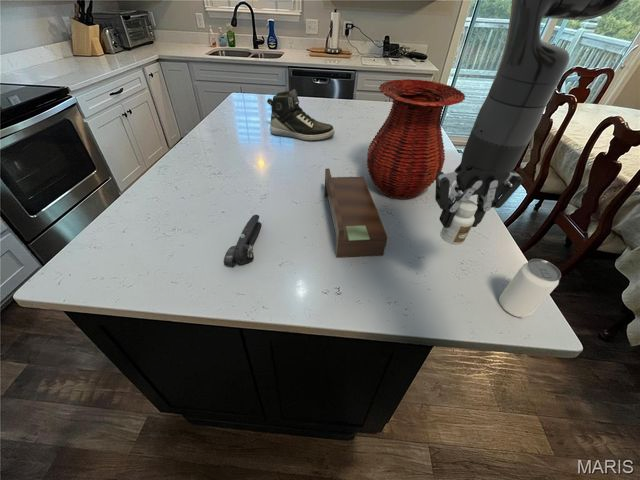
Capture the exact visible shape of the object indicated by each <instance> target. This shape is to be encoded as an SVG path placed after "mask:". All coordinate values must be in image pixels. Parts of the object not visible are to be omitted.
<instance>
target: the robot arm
mask: <svg viewBox="0 0 640 480" xmlns="http://www.w3.org/2000/svg"><path fill="white" fill-rule="evenodd" d="M624 1H625V0H511V6H510V12H509V13H510V15H509V20H508V21H509V22H508V28H507V34H506V39H505V44H504V48H503V52H502V56H501V58H500V59H501V60H500V63H499V65H498V69H497V71H496V74H495V75H494V79H493V81H492V84H491V86H490V89H489V91H488V93H487V96H486V98H485V99H484V101H483V103H482V104H481V107H480V109H479V111H478V113H477V116H476V119H475V121H474V123H473V125H472V129H471V131H470V134H469V136H468V138H467V141H466V143H465V146H464V149H463V151H462V154H461V161H460V163H459V165H458V166H457V167H456V168H455V169H454V171H452V172H448V173H444V171H441V172H438V173H437V174H436V180H435V196H434V197H435V198H434V201H435V202H436V203H437V205H438V207H439V208H440V210H441V213H440V215H439V217H438V218H439V222H440V223H441V225H442V227H443V226H444V228H449V227H450V225H451V223H452V221H453V218H454V216H455V214H456V212H455V211H456V210H457V209H458V208H459V206H460V205H461V204H462V203H465V202H466V201H467V200H470V198H471V197H473V196H476V197H477V198H476V205H477V210H476V212H475V214H474V217H475V221H474V223H473V225H472V227H471V228H477V226H478V225H479V224H481V223H482V221H483V218H484V217H485V215H486V213H487V212H489V211H490V210H491V209H493V208H495V209H500V208H501V207H503V205H505V203H507V201H508V200H509V199H510V198H511V197H512V195H514V193H515V192H516V191H517V190H518V189H519V188H520V187H521V185H522V184H523V183H524V181H525V179H524V178H523V177H522V176H521V175H520V174H519V173H517V172H516V171H515V170H514V169H515V168H516V166H517V164H518V162H520V159H521V158H522V156H523V154H524V152H525V150H526V149H527V147H528V144H529V143H530V141H531V139H532V138H533V136H534V134H535V132H536V130H537V128H538V126H539V124H540V123H541V120H542V117H543V114H544V111H545V109H546V108H547V105H548V103H549V102H550V100H551V98H552V97H553V95H554V94H553V93H554V92H555V90H556V88H557V87H558V85H559V83H560V81H561V79H562V77H563V75H564V74H565V71H566V70H567V67H568V65H569V63H570V57H571V56H570V52H569V51H568V50H567V49H565V48H564V47H562V46H559V45H556V44H553V43H550V42H547V41H544V40H543V39H542V38H541V24H542V21H543V19H550V20H554V19H555V20H568V21H587V20H593V19H596V18H599V17H602V16H604V15H606V14H608V13H610V12H612V11H614V10H615V9H617V8H618V7H619V6H620V5H622V3H624ZM455 181H456V182H455ZM454 182H455V183H454ZM453 183H454V184H453Z"/></svg>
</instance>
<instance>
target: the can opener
mask: <svg viewBox="0 0 640 480" xmlns="http://www.w3.org/2000/svg"><path fill="white" fill-rule="evenodd" d="M259 219H260V215H259V214H253V215H252V216H251V217H250V219H248V221H247V223H246V224H245V226H244V227H243V229H242V231H241V233H240V236H239V237H238V240H237V242H236V245H232V246H230V247H229V248H228V249H227V251H226V252H225V255H224V257H223V265H225V266H230V267H234V266H236V265H237V264H242V265H243V264H247V263H250V262H252V261H253V260H254V257H255V256H254V253H253V251H254V243H255V241H256V239H257V238H258V235H259V233H260V230H261V228H262V223H261V222H260V221H259Z"/></svg>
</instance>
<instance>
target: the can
mask: <svg viewBox="0 0 640 480" xmlns="http://www.w3.org/2000/svg"><path fill="white" fill-rule="evenodd" d="M561 278H562V273H561V270H560V269H559V268H558V267H557V266H556V265H554V264H553V263H552V262H550V261H548V260H545V259H541V258H532V259H530V260H528V261H527V262H526V263H524V264H523V265H522V266H521V267H520V268H519V269H518V271H517V272H516V273H515V275H514V276H513V278H512V279H511V280H510V281H509V283H508V285H507V286H506V287H505V289H504V290H503V292H502V293H501V294H500V295H499V299H498V300H499V301H498V302H499V304H500V307H501V308H502V309H503V310H504V311H505V312H506V313H508V314H509V315H511V316H513V317H516V318H527V317H530V316H531V315H532V314H533V313H534V311H535V310H537V308H539V306H540V305H541V304H542V303H543V302H544V301H545V300H546V299H547V298H548V297H549V295H551V293H552V292H553V291H554V290H555V289H556V288H557V287H558V286H559V284H560V280H561Z"/></svg>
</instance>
